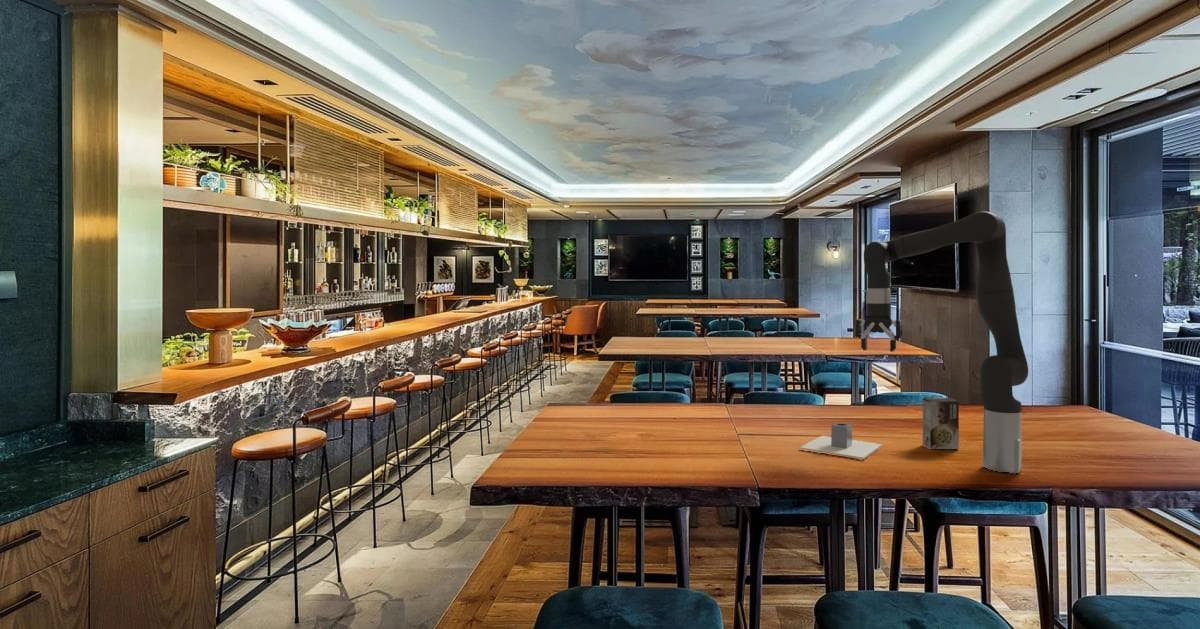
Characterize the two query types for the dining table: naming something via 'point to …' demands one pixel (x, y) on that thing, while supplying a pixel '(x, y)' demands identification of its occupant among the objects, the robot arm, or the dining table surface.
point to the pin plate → (856, 450)
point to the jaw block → (841, 435)
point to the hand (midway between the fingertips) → (878, 350)
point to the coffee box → (941, 423)
